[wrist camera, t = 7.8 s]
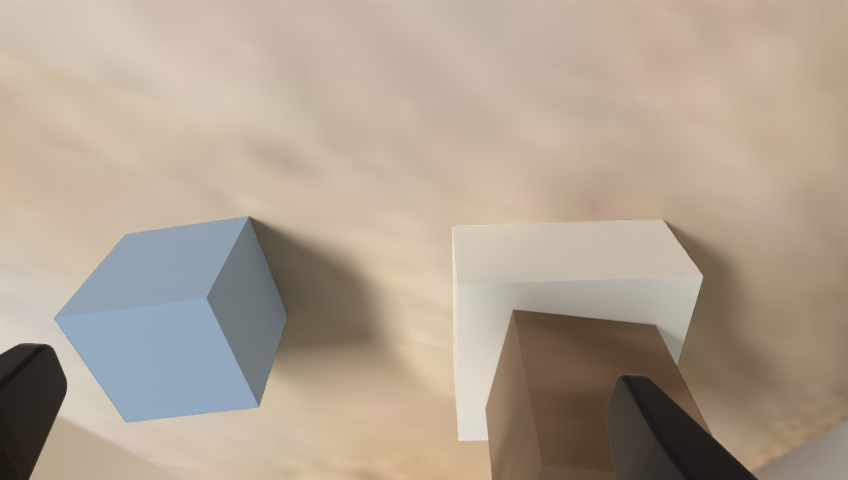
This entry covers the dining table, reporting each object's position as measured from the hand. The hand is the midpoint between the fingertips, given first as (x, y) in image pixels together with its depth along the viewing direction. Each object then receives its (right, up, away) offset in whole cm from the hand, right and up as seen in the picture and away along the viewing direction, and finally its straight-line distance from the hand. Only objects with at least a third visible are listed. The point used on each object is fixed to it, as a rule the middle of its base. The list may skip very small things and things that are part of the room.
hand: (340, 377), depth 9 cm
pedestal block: (+7, 0, +15) cm, 16 cm away
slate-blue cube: (-7, +1, +14) cm, 16 cm away
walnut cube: (+6, -2, +11) cm, 13 cm away
